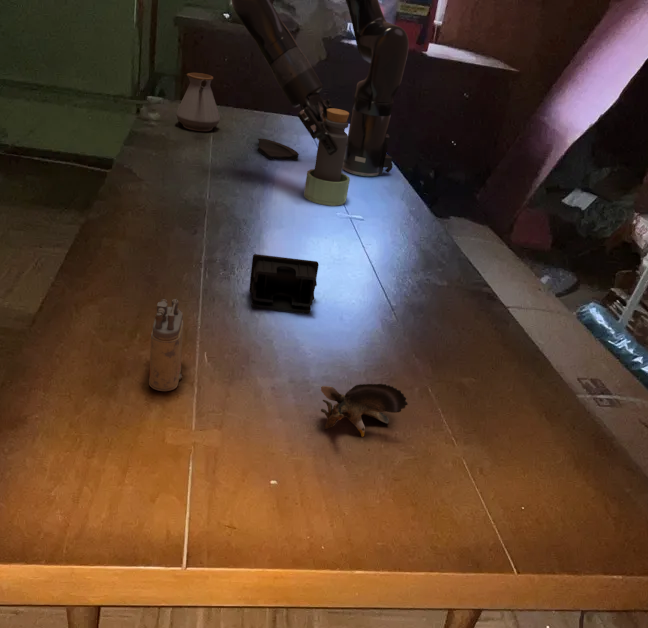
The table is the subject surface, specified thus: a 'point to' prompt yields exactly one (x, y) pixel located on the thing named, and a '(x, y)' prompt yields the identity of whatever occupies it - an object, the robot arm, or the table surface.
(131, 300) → the table surface
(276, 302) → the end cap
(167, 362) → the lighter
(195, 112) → the coffee pot
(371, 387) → the dark toy animal
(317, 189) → the holder
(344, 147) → the bottle
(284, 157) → the dark sector wedge
